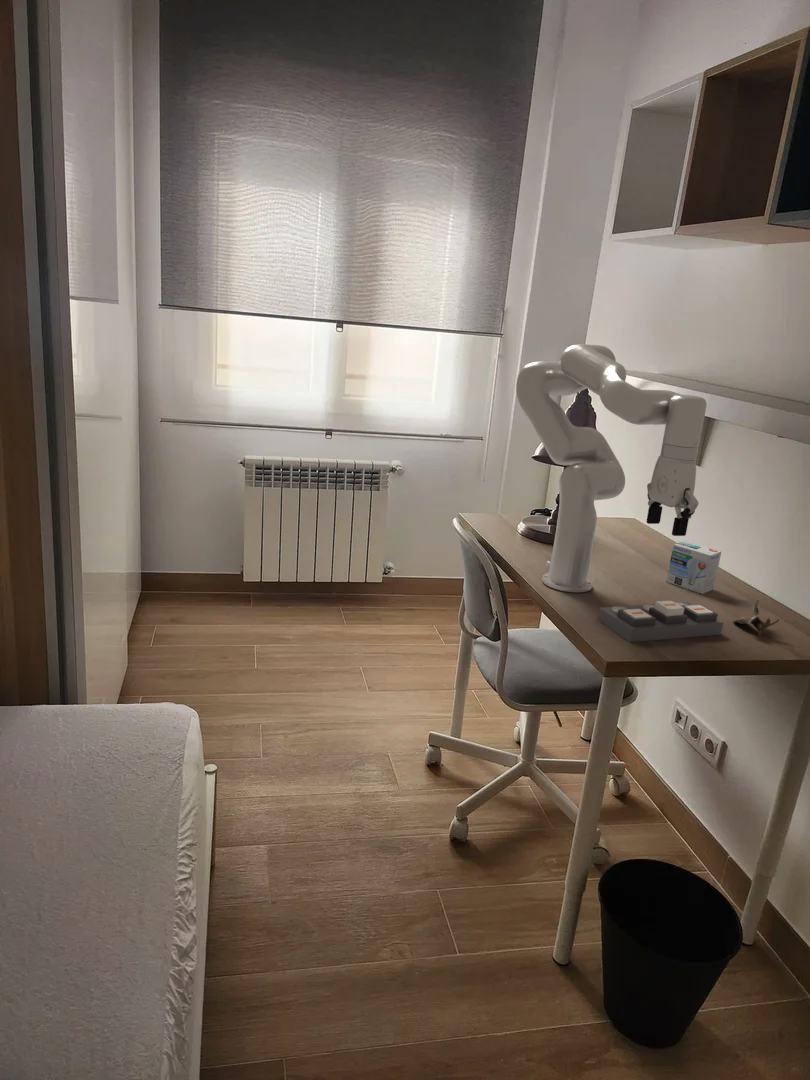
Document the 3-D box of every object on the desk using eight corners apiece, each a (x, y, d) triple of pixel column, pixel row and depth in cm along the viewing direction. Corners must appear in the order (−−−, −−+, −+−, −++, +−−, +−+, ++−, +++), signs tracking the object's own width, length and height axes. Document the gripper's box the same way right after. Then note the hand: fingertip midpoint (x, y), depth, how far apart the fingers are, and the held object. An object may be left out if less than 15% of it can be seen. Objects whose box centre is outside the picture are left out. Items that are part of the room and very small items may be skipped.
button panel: (597, 619, 177) (600, 601, 176) (685, 613, 186) (689, 595, 185) (629, 642, 167) (633, 622, 165) (720, 634, 176) (725, 615, 174)
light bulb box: (664, 581, 208) (672, 543, 205) (676, 577, 213) (684, 540, 210) (702, 594, 201) (711, 555, 198) (713, 589, 206) (722, 551, 202)
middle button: (654, 608, 174) (655, 601, 174) (670, 607, 176) (671, 600, 175) (666, 616, 171) (668, 608, 170) (682, 615, 172) (684, 607, 172)
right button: (683, 612, 178) (684, 605, 177) (698, 611, 180) (700, 604, 179) (696, 620, 174) (697, 612, 174) (711, 619, 176) (713, 611, 175)
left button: (621, 616, 172) (622, 609, 171) (637, 615, 173) (639, 608, 173) (633, 624, 168) (635, 617, 167) (650, 623, 169) (651, 616, 169)
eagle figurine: (783, 632, 178) (760, 610, 185) (777, 610, 174) (754, 588, 182) (752, 647, 178) (731, 624, 186) (746, 625, 174) (724, 603, 182)
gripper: (641, 445, 175) (629, 519, 179) (688, 460, 159) (674, 540, 164) (670, 446, 177) (657, 519, 182) (719, 461, 161) (704, 540, 166)
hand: (665, 529), depth 173 cm, fingers open, 9 cm apart
